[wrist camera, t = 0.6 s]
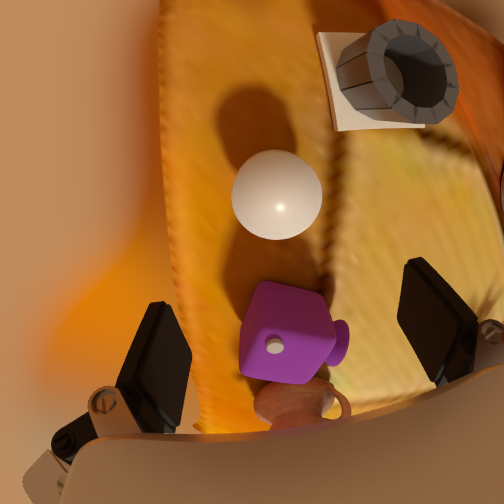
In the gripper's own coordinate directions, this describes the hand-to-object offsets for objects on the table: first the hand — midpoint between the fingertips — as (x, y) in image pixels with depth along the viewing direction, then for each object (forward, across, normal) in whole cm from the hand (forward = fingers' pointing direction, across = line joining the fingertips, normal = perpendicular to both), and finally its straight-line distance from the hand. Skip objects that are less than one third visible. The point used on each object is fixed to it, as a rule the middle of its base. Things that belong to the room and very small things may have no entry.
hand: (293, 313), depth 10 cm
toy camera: (+21, -1, +18) cm, 28 cm away
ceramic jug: (+21, 0, +37) cm, 42 cm away
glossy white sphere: (+21, -1, 0) cm, 21 cm away
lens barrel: (+21, -14, -10) cm, 27 cm away
